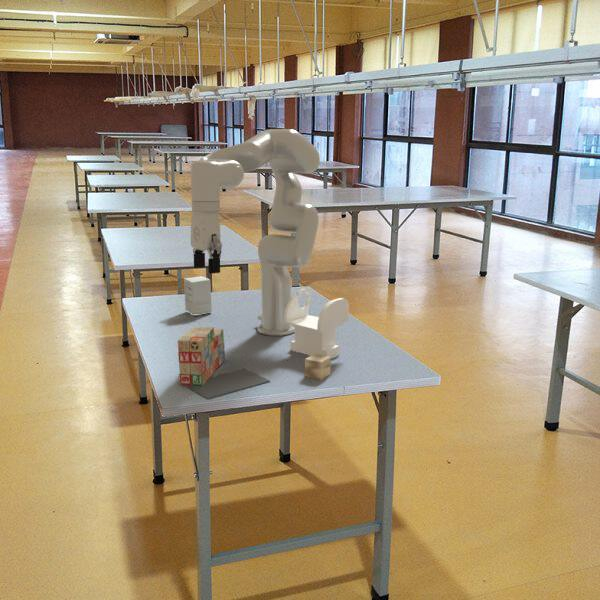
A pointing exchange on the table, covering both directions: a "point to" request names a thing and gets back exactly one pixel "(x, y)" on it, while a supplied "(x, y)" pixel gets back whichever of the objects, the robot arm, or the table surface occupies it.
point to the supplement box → (197, 295)
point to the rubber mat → (228, 383)
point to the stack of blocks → (200, 354)
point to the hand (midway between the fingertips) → (206, 270)
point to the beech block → (317, 366)
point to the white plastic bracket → (316, 325)
